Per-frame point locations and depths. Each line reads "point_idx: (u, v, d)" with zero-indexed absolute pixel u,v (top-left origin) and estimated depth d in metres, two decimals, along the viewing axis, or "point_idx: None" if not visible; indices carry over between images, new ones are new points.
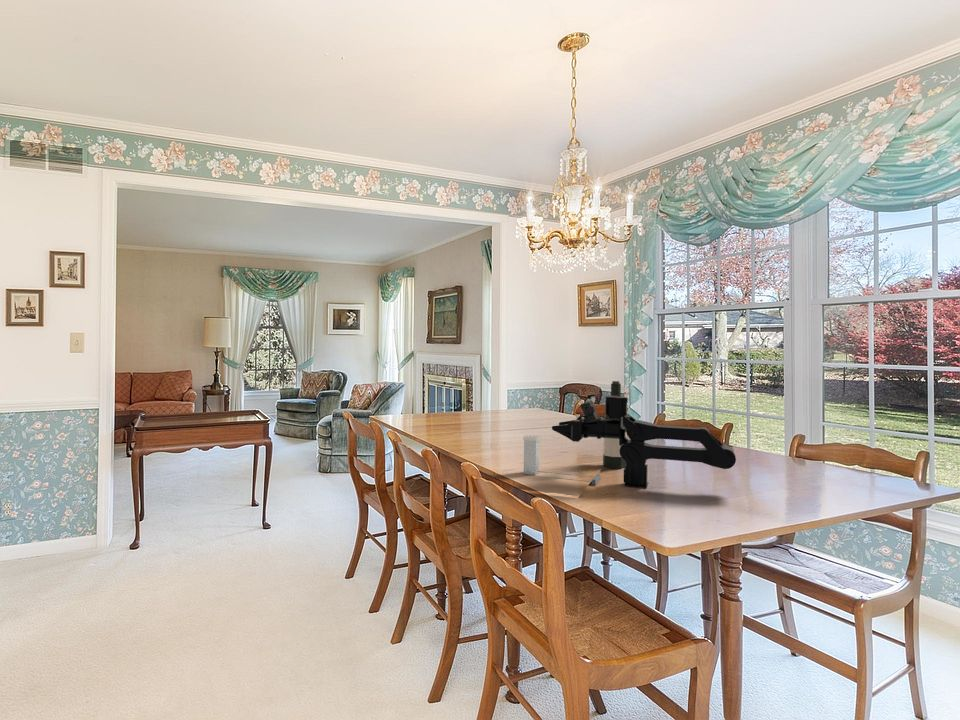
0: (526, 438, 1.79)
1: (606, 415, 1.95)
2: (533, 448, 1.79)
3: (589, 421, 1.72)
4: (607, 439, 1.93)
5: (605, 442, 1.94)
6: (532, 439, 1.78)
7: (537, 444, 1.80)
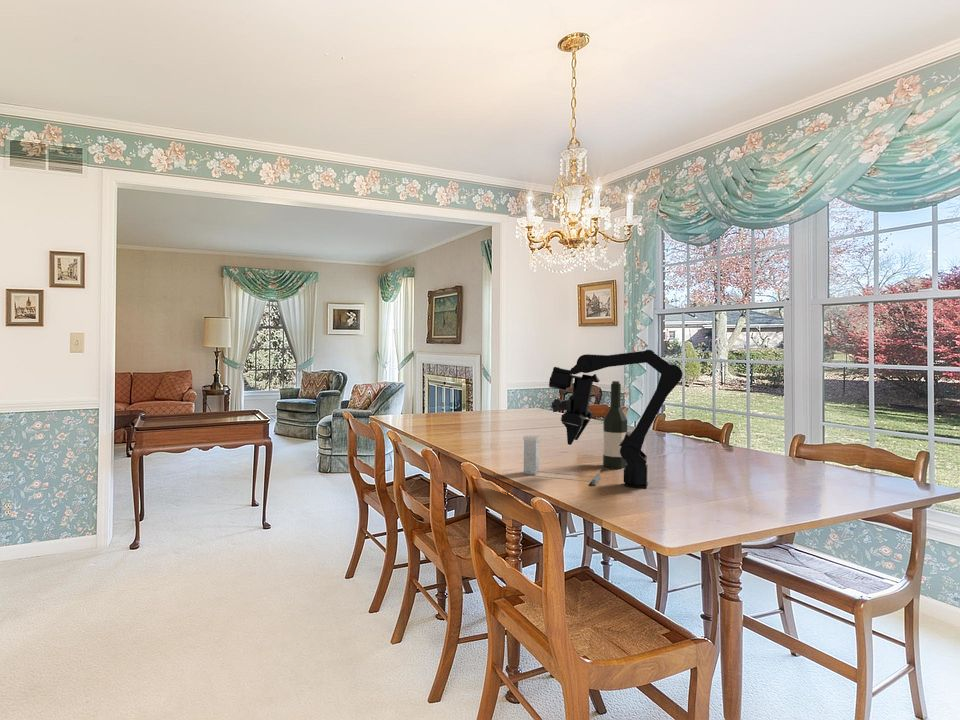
0: (526, 438, 1.79)
1: (606, 415, 1.95)
2: (533, 448, 1.79)
3: (569, 406, 1.73)
4: (607, 439, 1.93)
5: (605, 442, 1.94)
6: (532, 439, 1.78)
7: (537, 444, 1.80)
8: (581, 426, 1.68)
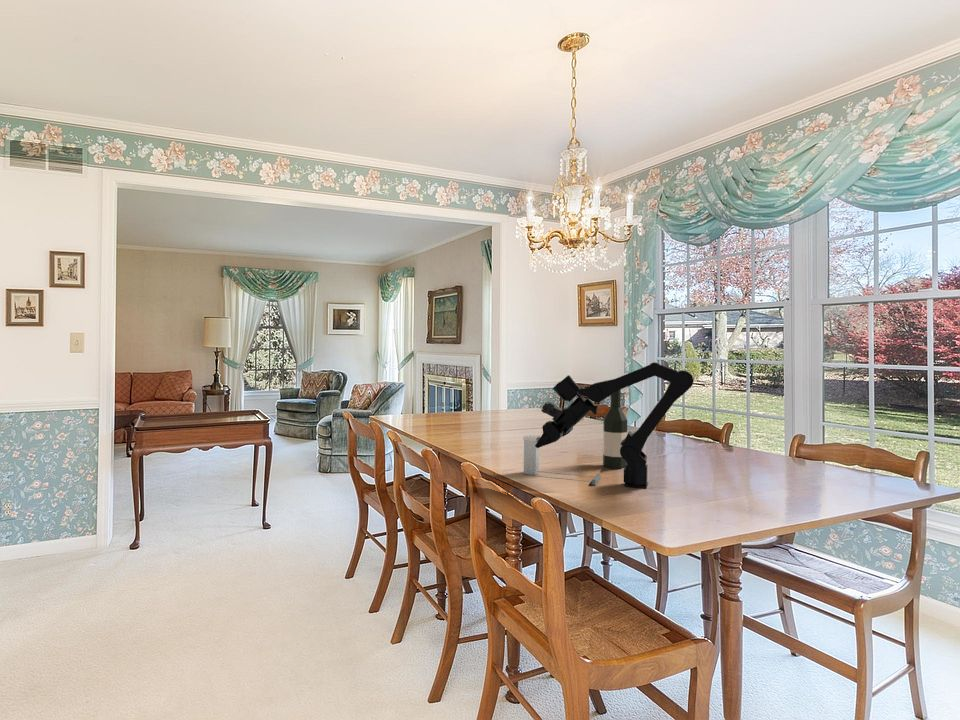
0: (526, 438, 1.79)
1: (606, 415, 1.95)
2: (533, 448, 1.79)
3: (557, 416, 1.74)
4: (607, 439, 1.93)
5: (605, 442, 1.94)
6: (532, 439, 1.78)
7: None
8: None
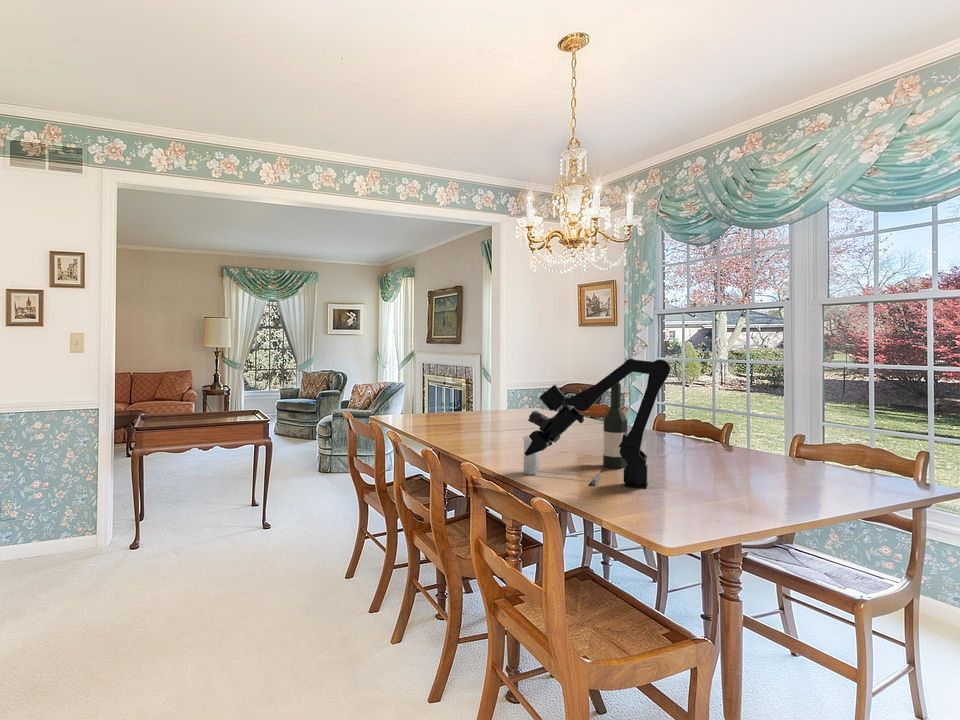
0: (526, 438, 1.79)
1: (606, 415, 1.95)
2: None
3: (544, 426, 1.76)
4: (607, 439, 1.93)
5: (605, 442, 1.94)
6: None
7: None
8: None
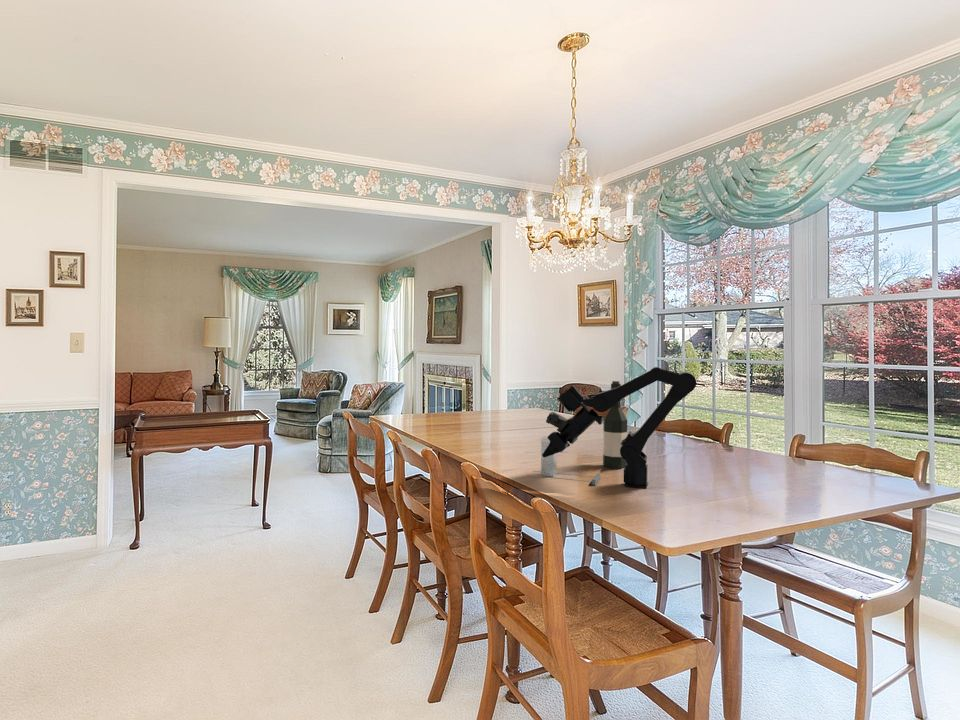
0: (544, 439, 1.77)
1: (606, 415, 1.95)
2: None
3: (562, 427, 1.74)
4: (607, 439, 1.93)
5: (605, 442, 1.94)
6: None
7: None
8: None
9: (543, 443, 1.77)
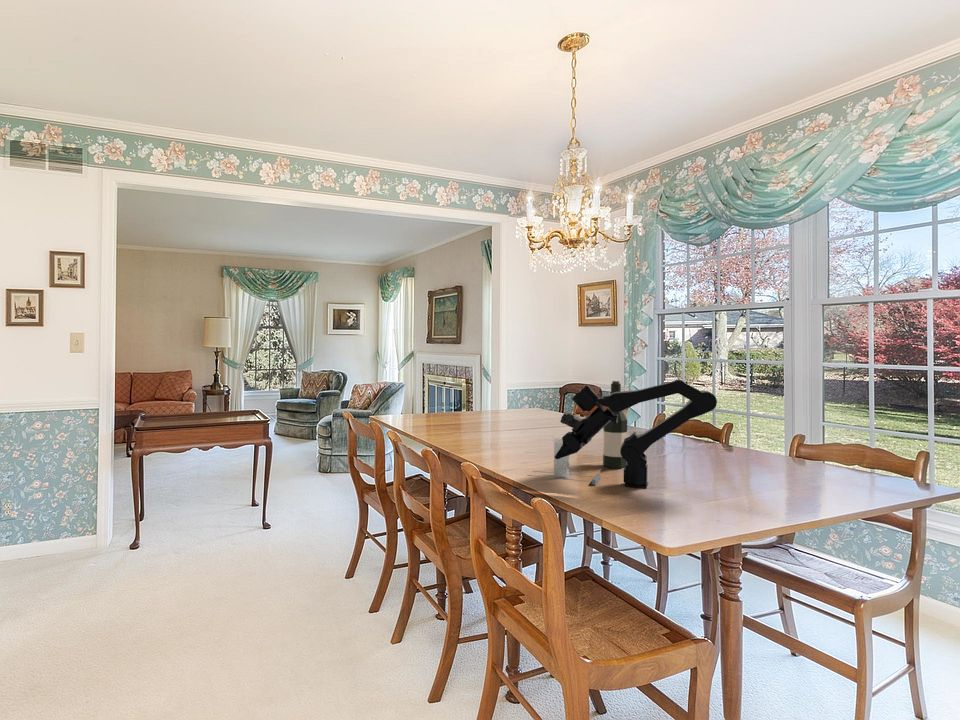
0: (556, 440, 1.75)
1: None
2: None
3: (577, 427, 1.72)
4: (607, 439, 1.93)
5: (605, 442, 1.94)
6: None
7: None
8: None
9: (556, 444, 1.76)
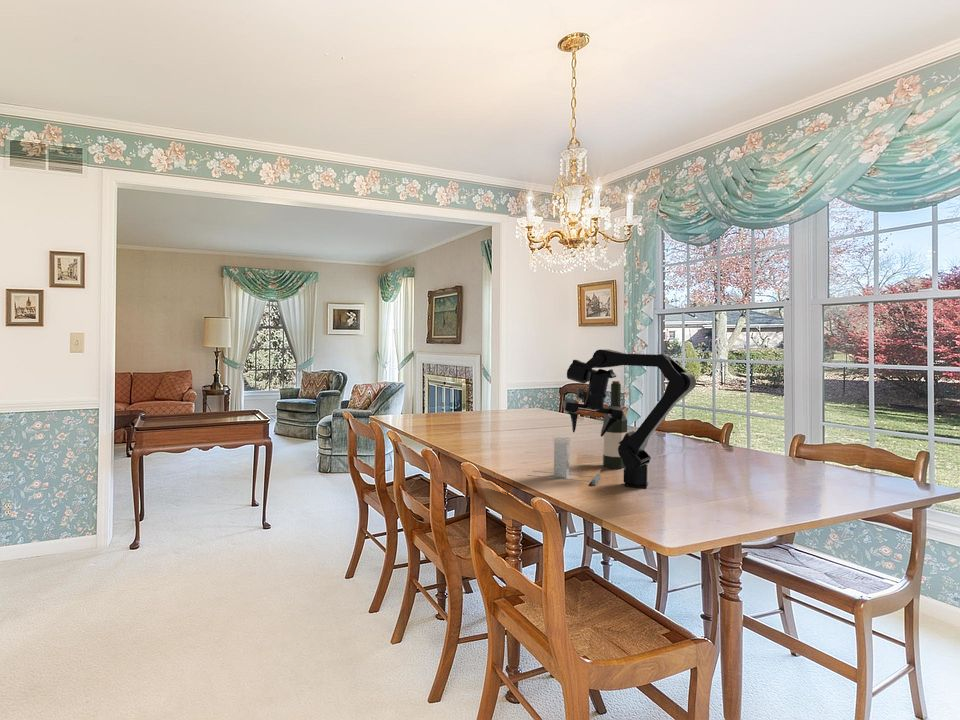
0: (556, 440, 1.75)
1: None
2: (564, 451, 1.75)
3: (584, 397, 1.80)
4: (607, 439, 1.93)
5: (605, 442, 1.94)
6: (563, 441, 1.75)
7: (567, 446, 1.76)
8: (573, 414, 1.76)
9: (556, 444, 1.76)
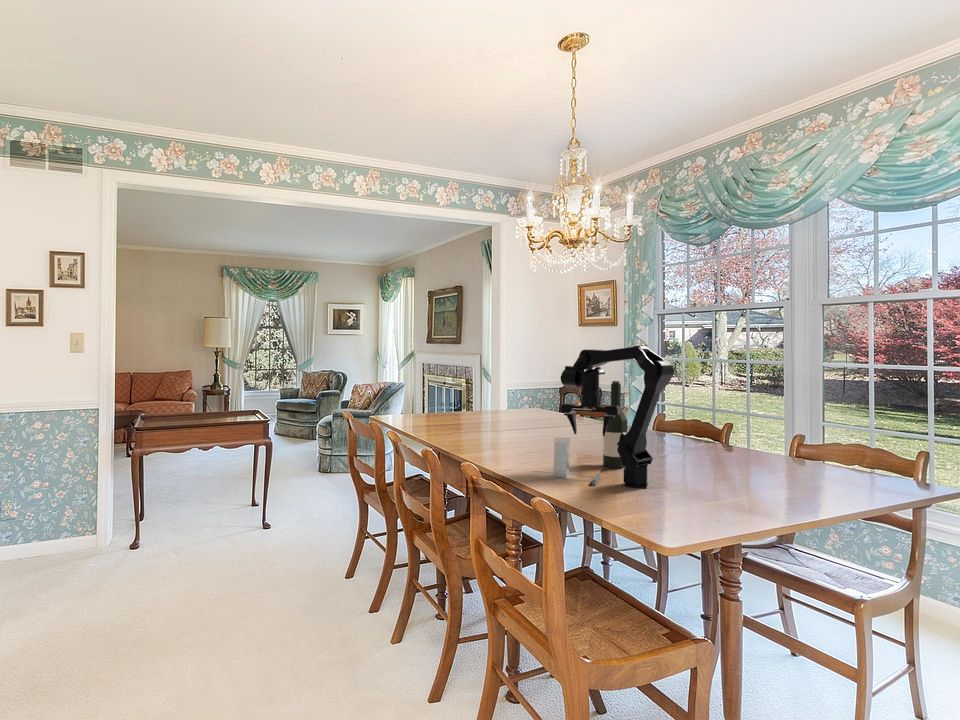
0: (556, 440, 1.75)
1: None
2: (564, 451, 1.75)
3: None
4: (607, 439, 1.93)
5: (605, 442, 1.94)
6: (563, 441, 1.75)
7: (567, 446, 1.76)
8: (567, 414, 1.82)
9: (556, 444, 1.76)
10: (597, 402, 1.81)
